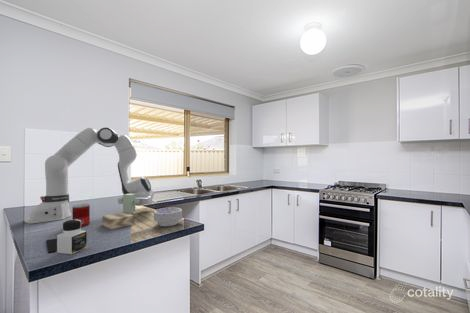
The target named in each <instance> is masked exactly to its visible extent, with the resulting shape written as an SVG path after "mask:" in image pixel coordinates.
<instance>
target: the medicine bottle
mask: <svg viewBox="0 0 470 313" xmlns="http://www.w3.org/2000/svg"><path fill="white" fill-rule="evenodd" d="M87 236H88V234H87V230H82V227H81V221H80V220H77V219H75V220H73V219H69V220H66V221H64V222H63V223H62V233H59V234H57V235H56V238H57V252H56V253H57V254H62V255H64V254H65V255H74V254H75V253H78V252H81V251H83V250H85V249H87V246H88V245H87V244H88V243H87V240H88V239H87V238H88V237H87Z"/></svg>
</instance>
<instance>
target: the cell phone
mask: <svg viewBox="0 0 470 313" xmlns="http://www.w3.org/2000/svg"><path fill="white" fill-rule="evenodd" d="M45 242H46V247H47V253H48V254H53V253H57V237H55V238H51V239H47V240H46V241H45Z"/></svg>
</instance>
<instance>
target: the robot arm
mask: <svg viewBox="0 0 470 313" xmlns="http://www.w3.org/2000/svg"><path fill="white" fill-rule="evenodd" d="M95 144H98V145H100V146H103V147H105V148H111V147H115V149H116V151H117V154H118V158H119V159H118V162H117V168H118V169H117V170H118V174H119V179H120V183H121V191H122V194H123V195H125V194H135V201H133V204H135V206H137V207H138V206H144V205H151V204H153V199H154V197H155V192H154V190H153V189H152V186H151V183H150V181H149V179H148V178H146V177H145V176H141V177H138V178H136V179H134V180H131V181H130V178H129V176H128V174H129V173H128V169H129V167H130V166H131V164H133V163H134V162H135V161H136V159H137V150H136V148H135V145H134V144H133V142H132V140H131V139H130V137H129V136H128V135H125V134H122V135H119V134H118V133H117V132H116V131H115V130H113V129H112V128H110V127H102V128H100V129H98V130H97V129H94V128H93V127H86V128H85V129H82V131H80V132H79V133H78V134H76V135H75V136H73V137H72V138H71V139H70V140H69V141H68V142H66V143H65V144H64V145H63V146H62V147H61V148H60V149H59V150H57V151H56V152H55V153H54V154H53V155H50V156H49V157H47V158H46V160H45V162H44V175H45V191H46V192H45V195H44V196H43V195H42V196H40V197H39V199H40V200H41V203H39V204H37V205H36V206H35V207H33V208H32V209H31V211H30V213H29V217H27V218H25V219H24V223H25V224H30V225H31V224H37V223H47V222H53V221H62V220H64V219H66V218H67V219H68V218H70V217H71V216H72V213H71V210H70V204H69V203H70V194H69V175H68V174H69V171H68V169H69V167H70V166H71V165H72V164H74V162H75V161H77V160H78V159H79V158H80V157H81V156H83V154H85V153H86V152H87V151H88V150H89V149H90V148H91V147H93V146H94V145H95ZM117 204H118V205H119V204H120V205H121V204H122V205H123V196H121V197H118V198H117Z"/></svg>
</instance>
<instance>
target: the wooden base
mask: <svg viewBox="0 0 470 313" xmlns="http://www.w3.org/2000/svg"><path fill="white" fill-rule="evenodd" d="M134 215H135V214H132V213H126V212H123V211H122V212H118V213H112V214H105V215H102V226H104V227H106V228H108V229H110V230H114V229H119V228H120V229H121V228H124V227H128V226H133V225H135V216H134Z"/></svg>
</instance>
